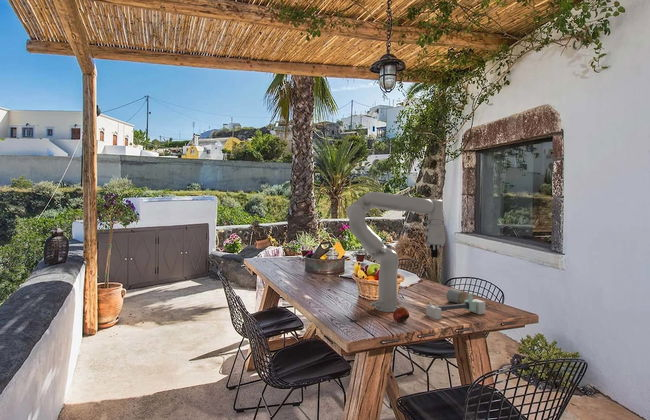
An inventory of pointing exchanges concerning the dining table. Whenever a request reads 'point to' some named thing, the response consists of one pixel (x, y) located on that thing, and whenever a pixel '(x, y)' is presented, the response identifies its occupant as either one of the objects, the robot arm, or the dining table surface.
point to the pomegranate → (400, 315)
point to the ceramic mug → (456, 296)
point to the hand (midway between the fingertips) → (434, 257)
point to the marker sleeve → (470, 303)
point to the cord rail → (436, 310)
